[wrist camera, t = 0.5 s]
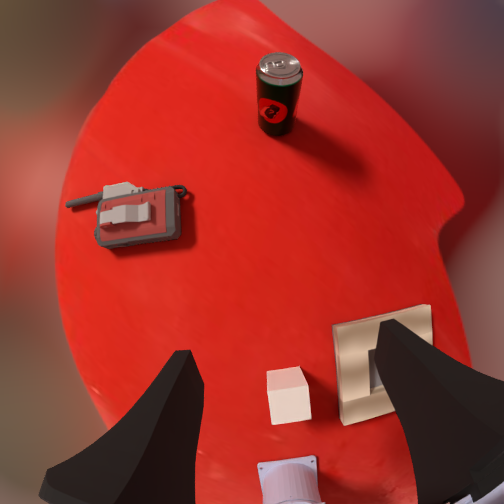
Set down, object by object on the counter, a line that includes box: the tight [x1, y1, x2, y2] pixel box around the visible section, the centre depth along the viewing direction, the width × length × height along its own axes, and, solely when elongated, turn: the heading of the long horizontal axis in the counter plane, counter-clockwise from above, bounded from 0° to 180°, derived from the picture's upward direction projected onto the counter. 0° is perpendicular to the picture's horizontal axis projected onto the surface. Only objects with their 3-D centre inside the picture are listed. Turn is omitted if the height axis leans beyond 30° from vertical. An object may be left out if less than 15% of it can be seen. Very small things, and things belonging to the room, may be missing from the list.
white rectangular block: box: [267, 366, 311, 425], centre depth 27 cm, size 4×4×7 cm
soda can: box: [256, 52, 303, 136], centre depth 29 cm, size 5×5×12 cm
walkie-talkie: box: [65, 182, 187, 249], centre depth 33 cm, size 9×4×20 cm
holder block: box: [332, 304, 433, 425], centre depth 29 cm, size 13×13×2 cm
